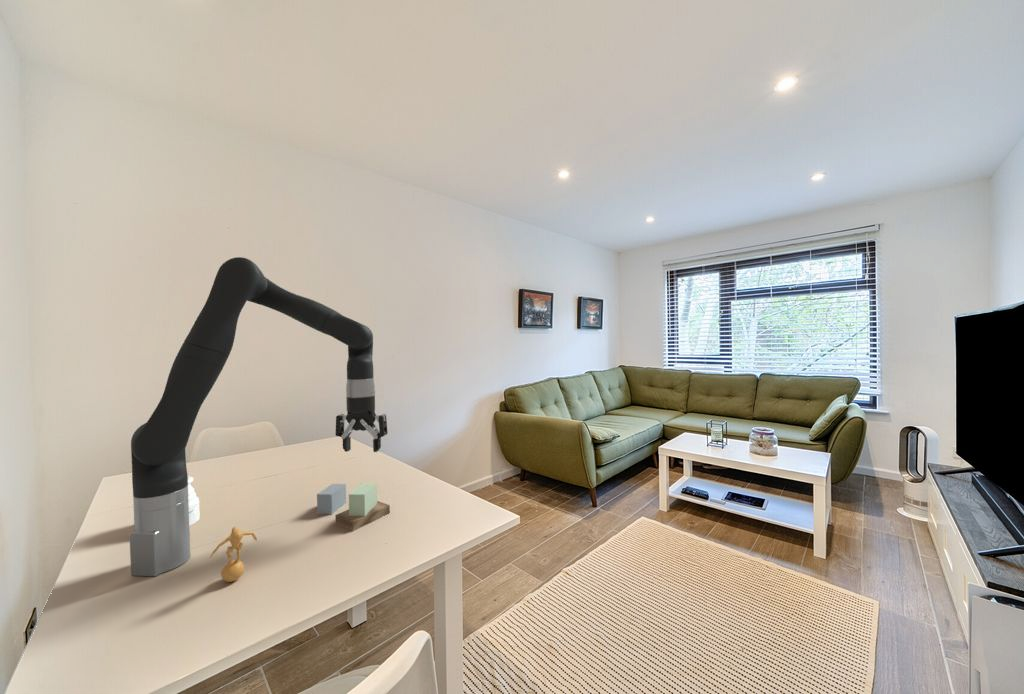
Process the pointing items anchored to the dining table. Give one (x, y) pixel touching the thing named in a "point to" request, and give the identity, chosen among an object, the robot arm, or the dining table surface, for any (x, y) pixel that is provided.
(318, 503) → the slate brick
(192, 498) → the honey pot
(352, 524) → the walnut brick
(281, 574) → the dining table surface
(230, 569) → the figurine
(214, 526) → the dining table surface
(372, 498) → the sage brick
